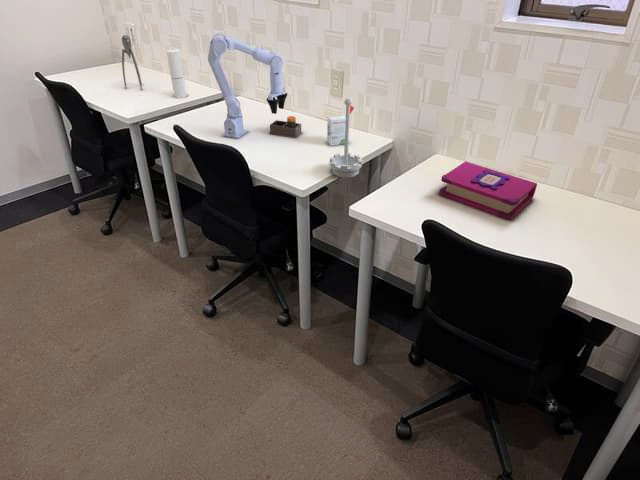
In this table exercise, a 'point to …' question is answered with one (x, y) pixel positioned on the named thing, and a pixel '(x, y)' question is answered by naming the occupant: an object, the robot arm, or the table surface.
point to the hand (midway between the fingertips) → (277, 110)
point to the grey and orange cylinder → (291, 121)
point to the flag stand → (346, 152)
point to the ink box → (336, 130)
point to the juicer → (128, 50)
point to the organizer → (284, 129)
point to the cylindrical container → (176, 73)
